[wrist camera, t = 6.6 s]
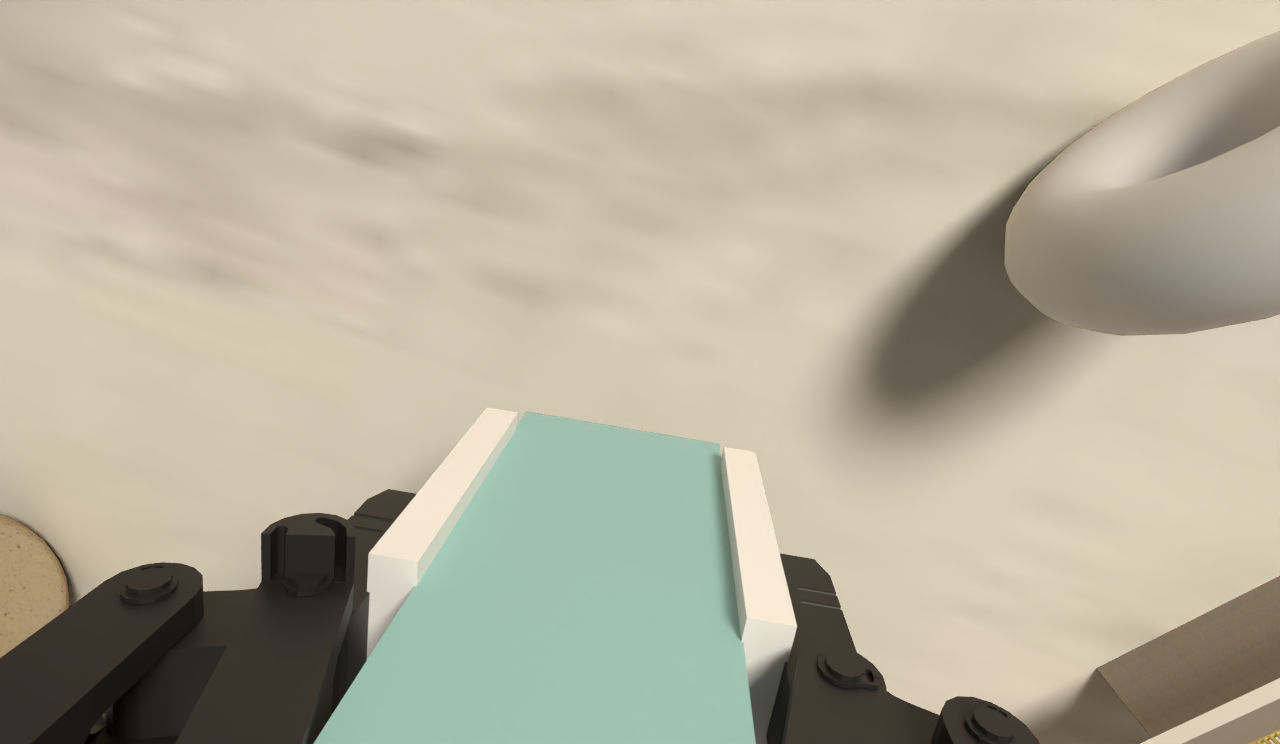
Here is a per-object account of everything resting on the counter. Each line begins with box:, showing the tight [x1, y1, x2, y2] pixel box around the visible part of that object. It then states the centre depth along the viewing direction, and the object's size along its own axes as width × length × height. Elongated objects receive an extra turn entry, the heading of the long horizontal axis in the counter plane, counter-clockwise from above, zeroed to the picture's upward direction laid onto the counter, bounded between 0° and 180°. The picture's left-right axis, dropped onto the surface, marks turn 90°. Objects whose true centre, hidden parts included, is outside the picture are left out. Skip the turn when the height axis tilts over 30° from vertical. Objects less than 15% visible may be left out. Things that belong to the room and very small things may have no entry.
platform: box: [1097, 576, 1280, 744], centre depth 23 cm, size 12×18×7 cm, turn 128°
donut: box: [1004, 31, 1280, 336], centre depth 16 cm, size 10×4×10 cm, turn 127°
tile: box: [314, 412, 756, 744], centre depth 13 cm, size 2×5×11 cm, turn 81°
